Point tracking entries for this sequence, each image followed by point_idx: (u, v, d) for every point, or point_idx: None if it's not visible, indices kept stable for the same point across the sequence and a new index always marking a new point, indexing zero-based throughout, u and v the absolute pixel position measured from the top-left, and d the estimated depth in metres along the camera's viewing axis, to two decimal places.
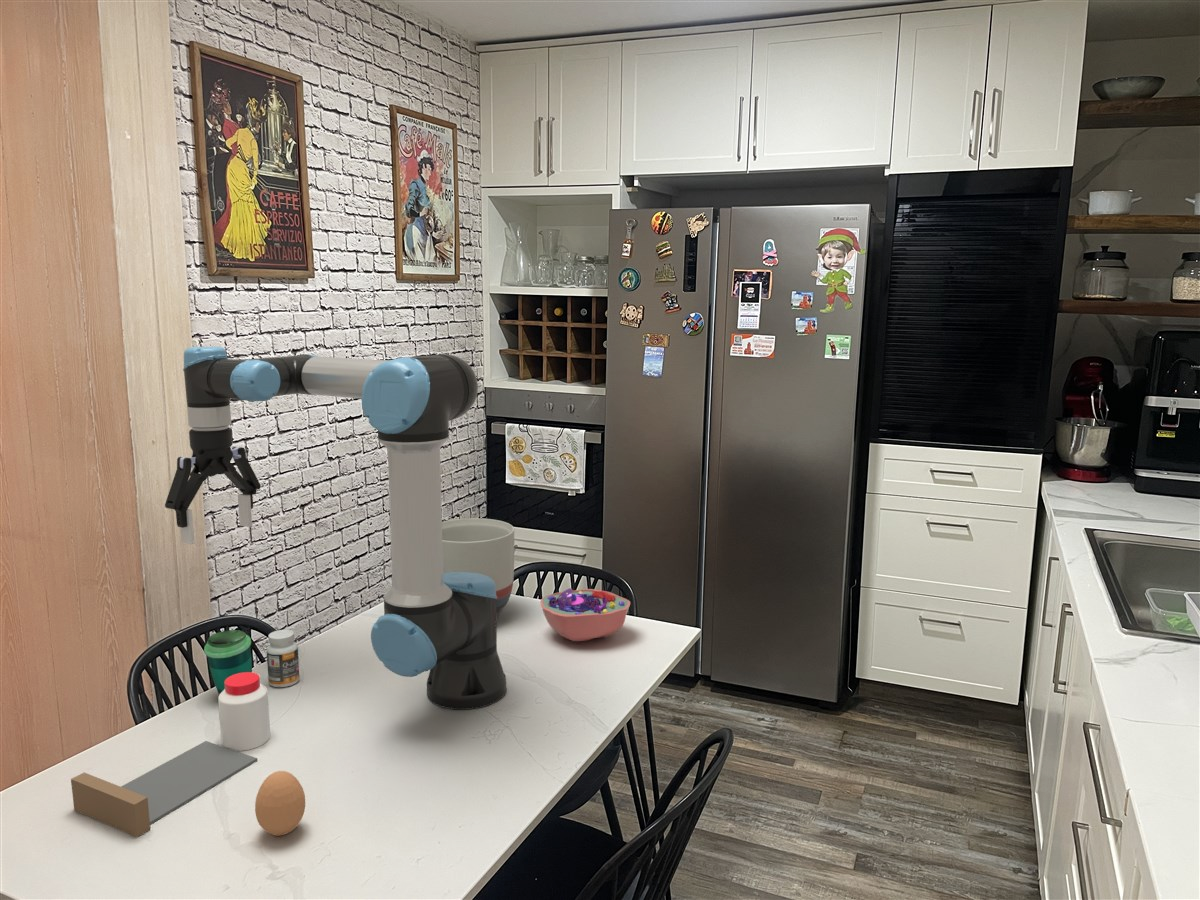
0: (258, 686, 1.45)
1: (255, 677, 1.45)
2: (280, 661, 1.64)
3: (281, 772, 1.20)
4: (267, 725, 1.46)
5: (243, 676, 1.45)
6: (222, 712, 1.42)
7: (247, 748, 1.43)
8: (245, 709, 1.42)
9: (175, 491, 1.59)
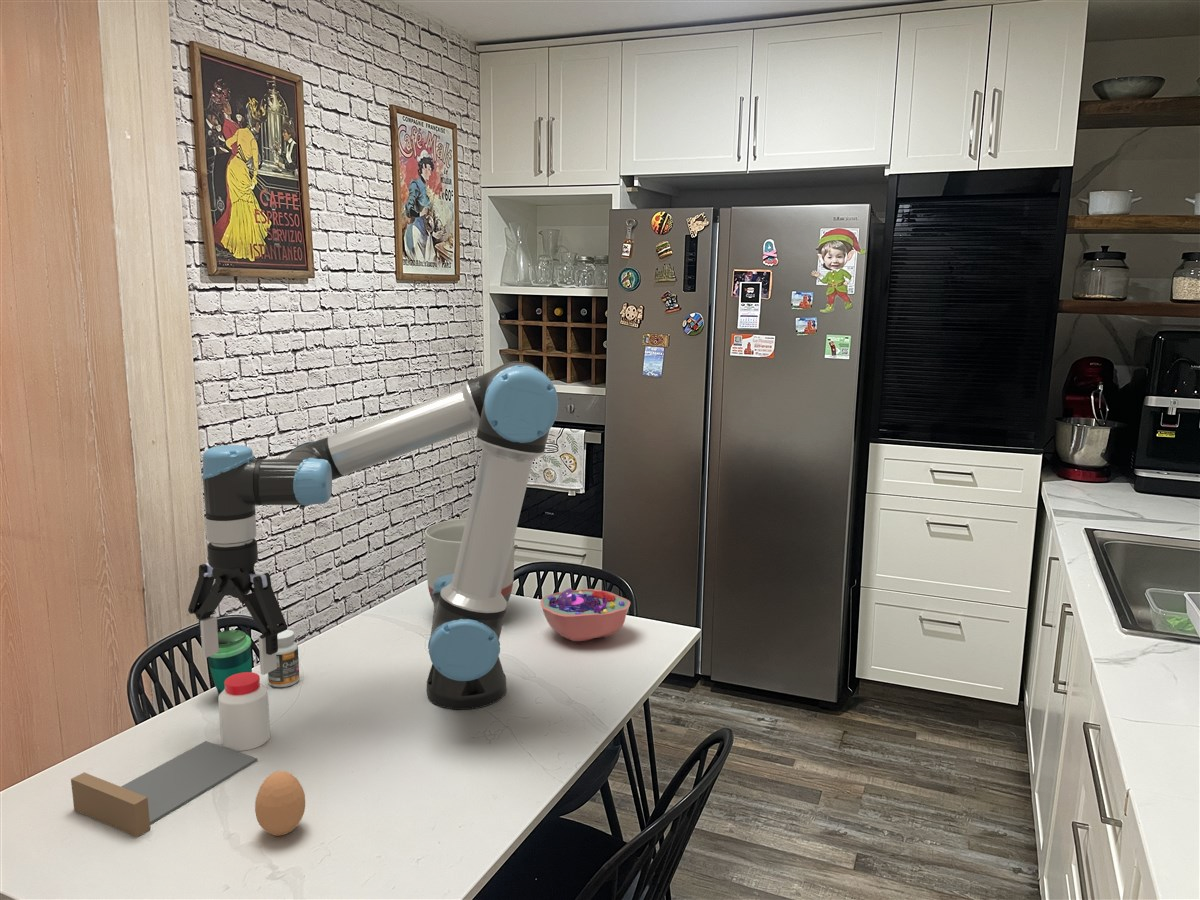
0: (258, 686, 1.45)
1: (255, 677, 1.45)
2: (280, 661, 1.64)
3: (281, 772, 1.20)
4: (267, 725, 1.46)
5: (243, 676, 1.45)
6: (222, 712, 1.42)
7: (247, 748, 1.43)
8: (245, 709, 1.42)
9: None
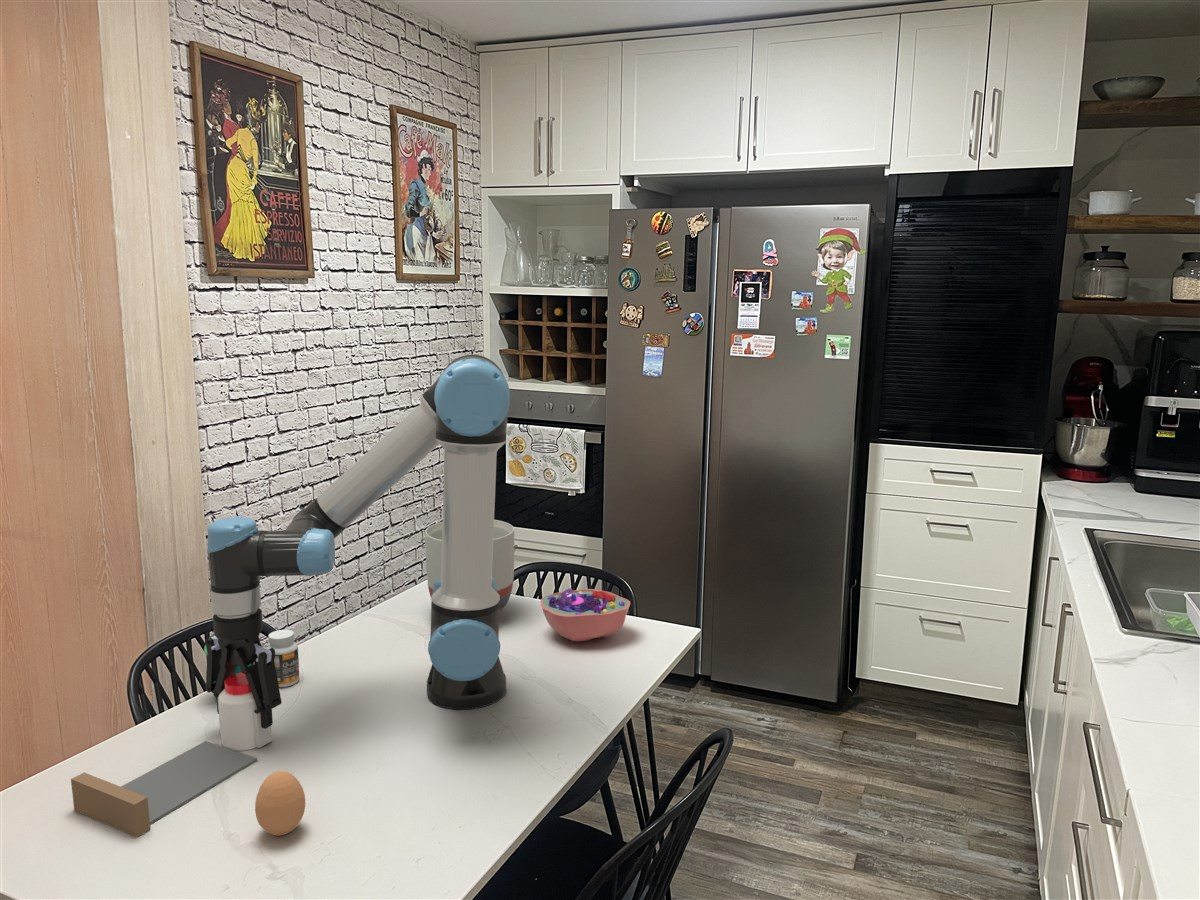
0: None
1: None
2: (280, 661, 1.64)
3: (281, 772, 1.20)
4: None
5: (243, 676, 1.45)
6: (222, 712, 1.42)
7: (247, 748, 1.43)
8: (245, 709, 1.42)
9: None
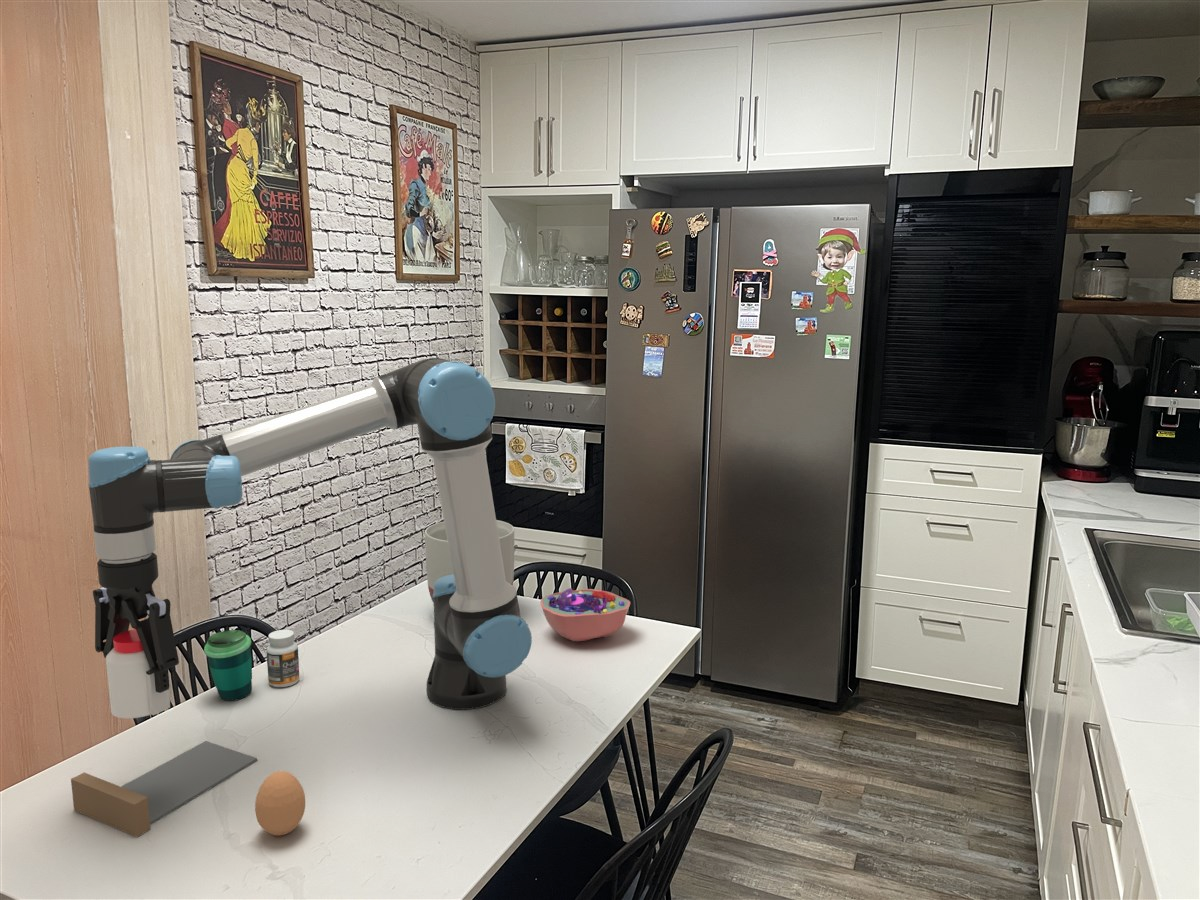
0: None
1: None
2: (280, 661, 1.64)
3: (281, 772, 1.20)
4: None
5: None
6: (109, 673, 1.22)
7: (139, 715, 1.23)
8: (135, 669, 1.22)
9: None
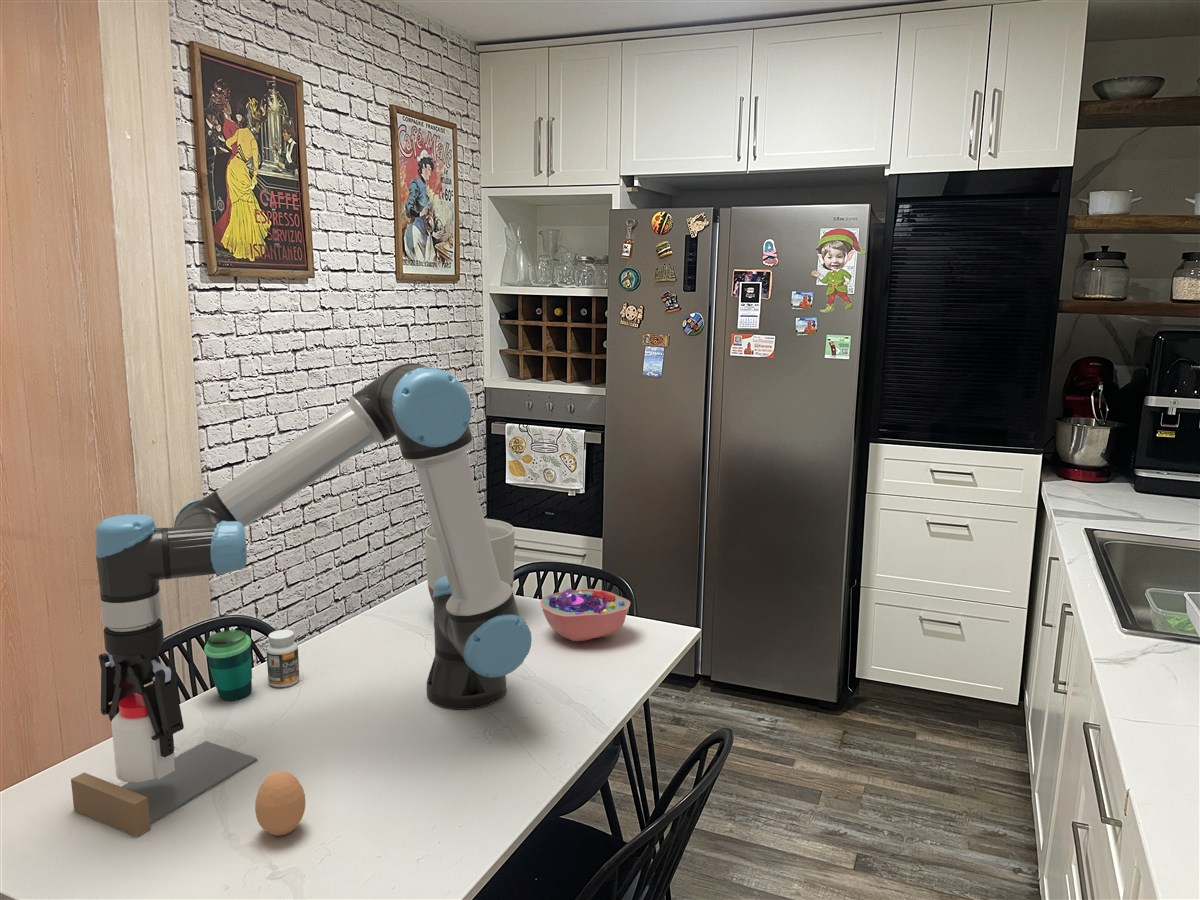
0: None
1: None
2: (280, 661, 1.64)
3: (281, 772, 1.20)
4: None
5: None
6: (115, 738, 1.24)
7: (144, 779, 1.25)
8: (141, 735, 1.24)
9: None
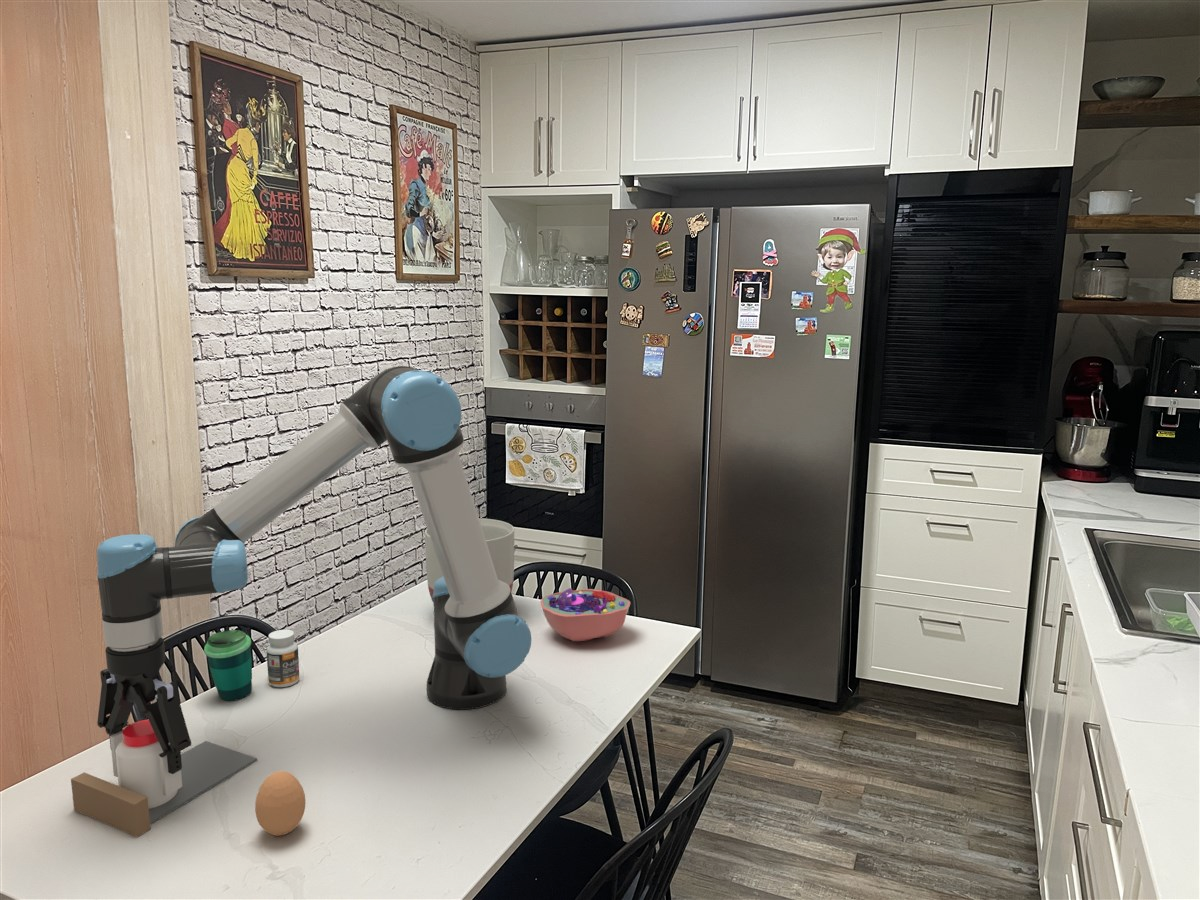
0: None
1: None
2: (280, 661, 1.64)
3: (281, 772, 1.20)
4: None
5: (145, 724, 1.28)
6: (119, 766, 1.25)
7: (148, 807, 1.26)
8: (145, 763, 1.24)
9: None
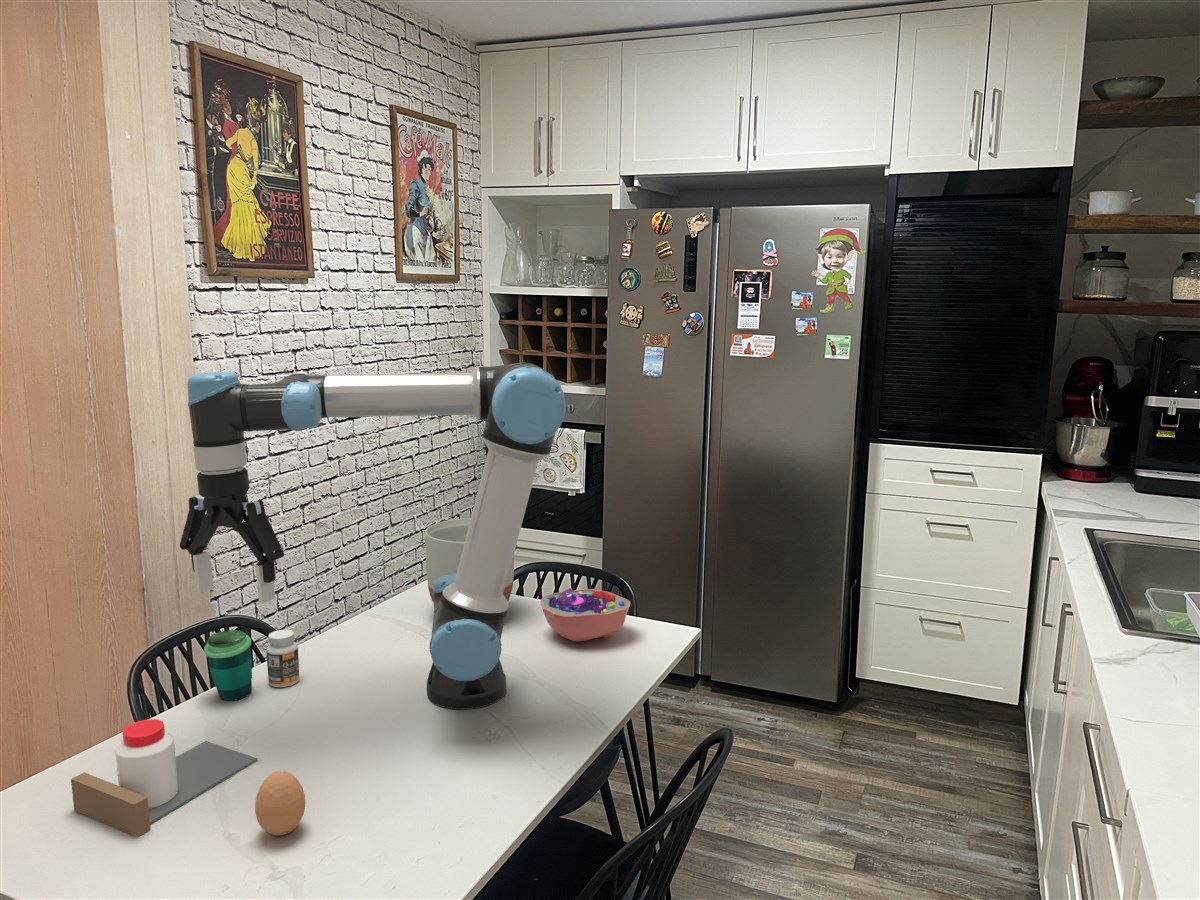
0: (162, 736, 1.27)
1: (159, 725, 1.28)
2: (280, 661, 1.64)
3: (281, 772, 1.20)
4: (173, 780, 1.28)
5: (145, 724, 1.28)
6: (119, 766, 1.25)
7: (148, 807, 1.26)
8: (145, 763, 1.24)
9: None
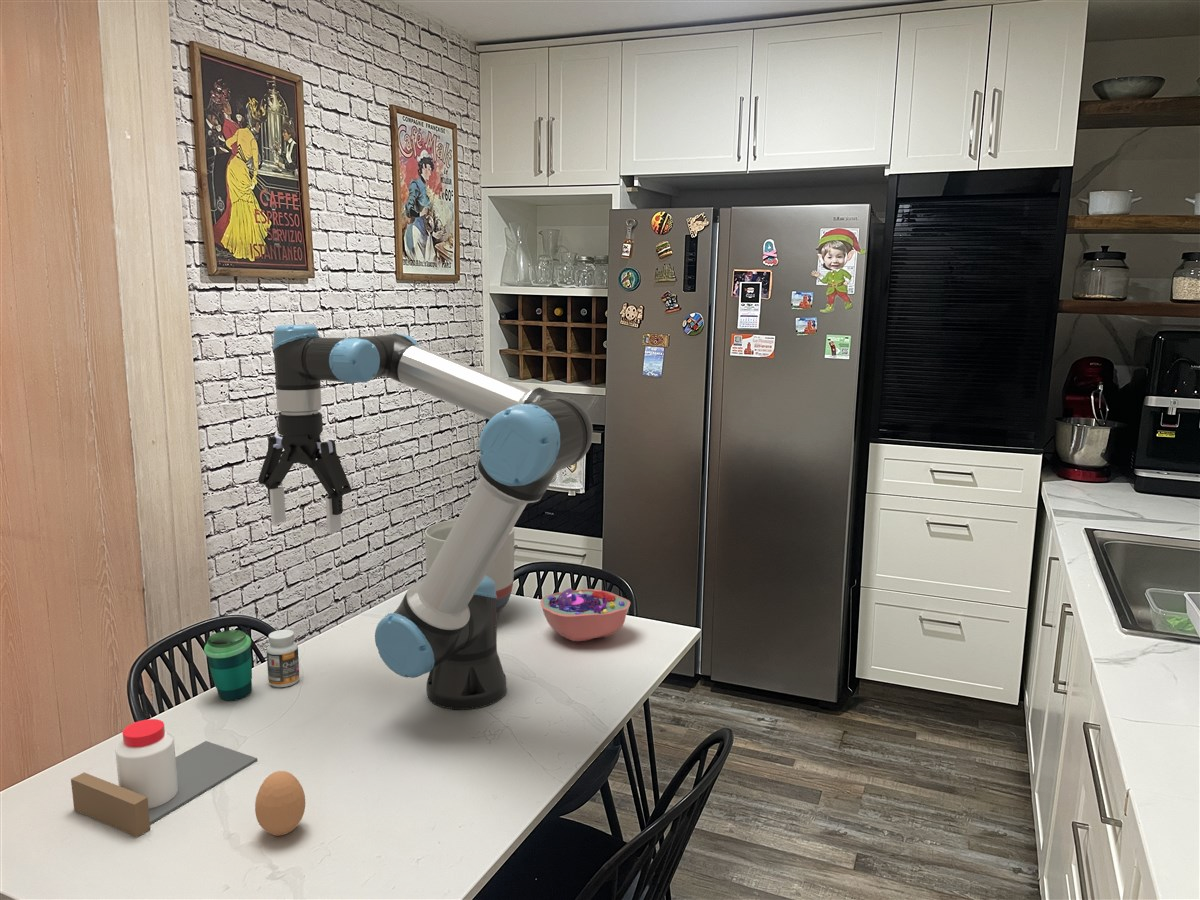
0: (162, 736, 1.27)
1: (159, 725, 1.28)
2: (280, 661, 1.64)
3: (281, 772, 1.20)
4: (173, 780, 1.28)
5: (145, 724, 1.28)
6: (119, 766, 1.25)
7: (148, 807, 1.26)
8: (145, 763, 1.24)
9: None
